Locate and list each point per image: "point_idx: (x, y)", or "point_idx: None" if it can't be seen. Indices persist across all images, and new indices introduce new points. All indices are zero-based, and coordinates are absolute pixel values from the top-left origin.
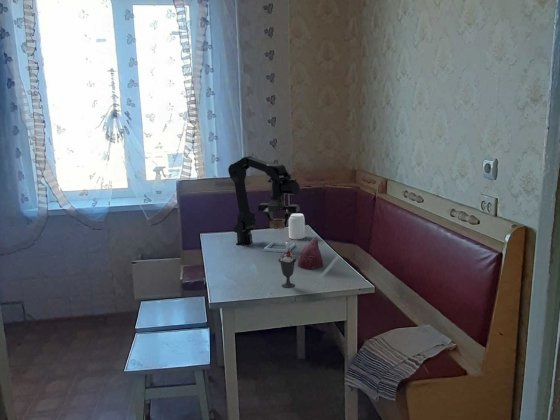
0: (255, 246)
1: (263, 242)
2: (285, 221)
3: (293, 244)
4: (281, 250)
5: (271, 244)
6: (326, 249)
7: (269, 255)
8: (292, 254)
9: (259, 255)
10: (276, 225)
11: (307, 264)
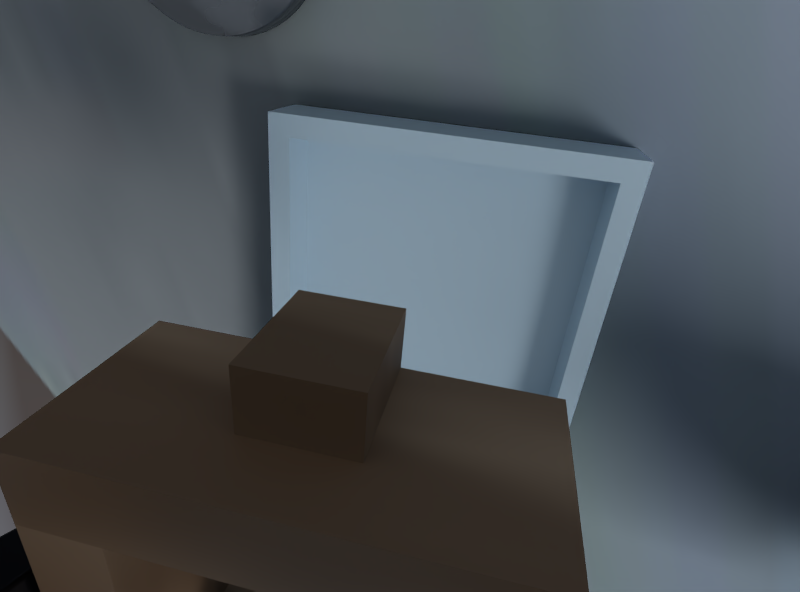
0: (782, 426)
1: (681, 550)
2: (9, 564)
3: None
4: (357, 121)
5: (557, 386)
6: (9, 325)
7: (531, 30)
8: (184, 15)
9: (700, 3)
10: (276, 354)
11: None
